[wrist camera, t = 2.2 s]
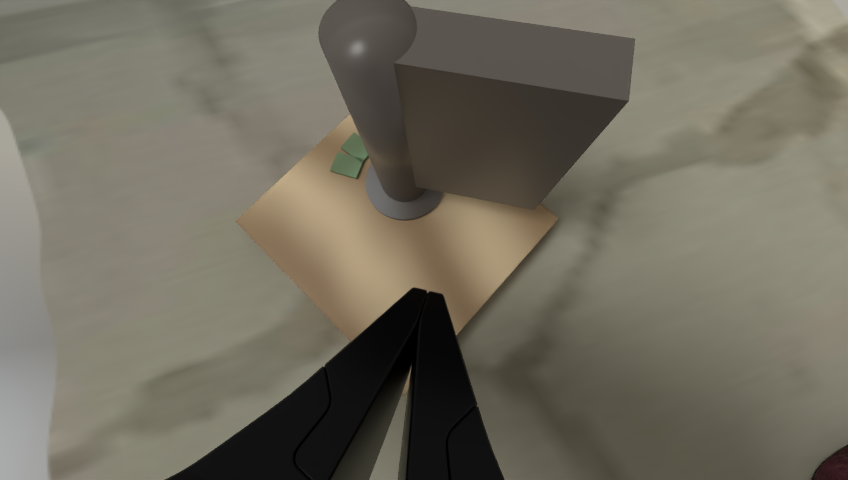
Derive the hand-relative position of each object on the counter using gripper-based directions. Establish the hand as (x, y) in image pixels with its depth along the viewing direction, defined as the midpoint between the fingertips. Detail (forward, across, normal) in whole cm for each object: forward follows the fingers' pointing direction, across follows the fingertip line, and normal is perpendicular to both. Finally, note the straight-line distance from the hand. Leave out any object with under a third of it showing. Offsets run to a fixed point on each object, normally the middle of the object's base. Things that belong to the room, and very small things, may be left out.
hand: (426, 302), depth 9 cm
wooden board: (+10, +3, +4) cm, 11 cm away
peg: (+11, 0, 0) cm, 11 cm away
